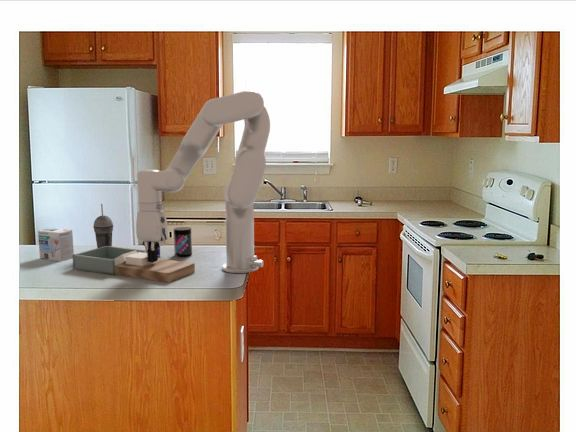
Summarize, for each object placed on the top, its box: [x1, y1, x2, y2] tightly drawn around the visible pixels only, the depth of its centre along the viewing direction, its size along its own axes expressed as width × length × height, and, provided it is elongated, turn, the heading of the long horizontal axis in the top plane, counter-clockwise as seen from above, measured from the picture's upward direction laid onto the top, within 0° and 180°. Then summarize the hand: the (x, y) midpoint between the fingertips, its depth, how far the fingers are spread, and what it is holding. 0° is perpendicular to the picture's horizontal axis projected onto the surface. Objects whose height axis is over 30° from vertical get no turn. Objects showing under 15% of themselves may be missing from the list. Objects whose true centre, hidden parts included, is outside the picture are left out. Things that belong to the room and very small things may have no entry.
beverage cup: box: [92, 203, 114, 248], centre depth 199 cm, size 7×7×20 cm
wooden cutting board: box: [115, 258, 196, 283], centre depth 177 cm, size 22×14×3 cm, turn 65°
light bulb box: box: [37, 227, 75, 262], centre depth 197 cm, size 11×7×11 cm, turn 68°
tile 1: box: [113, 250, 137, 265], centre depth 182 cm, size 7×7×2 cm
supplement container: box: [173, 226, 193, 258], centre depth 201 cm, size 7×7×10 cm
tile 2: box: [125, 252, 152, 266], centre depth 179 cm, size 7×7×2 cm
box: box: [72, 245, 145, 276], centre depth 185 cm, size 18×16×5 cm
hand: (152, 261), depth 177 cm, fingers closed
